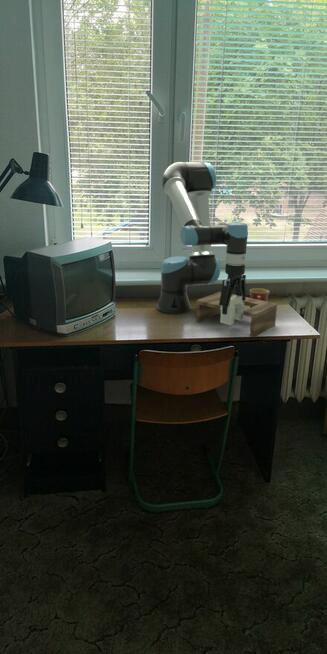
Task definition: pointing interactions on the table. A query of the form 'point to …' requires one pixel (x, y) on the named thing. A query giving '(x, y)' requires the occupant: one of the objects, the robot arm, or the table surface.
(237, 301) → the white plastic block
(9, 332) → the table surface
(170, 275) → the robot arm
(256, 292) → the mug
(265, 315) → the shelf
